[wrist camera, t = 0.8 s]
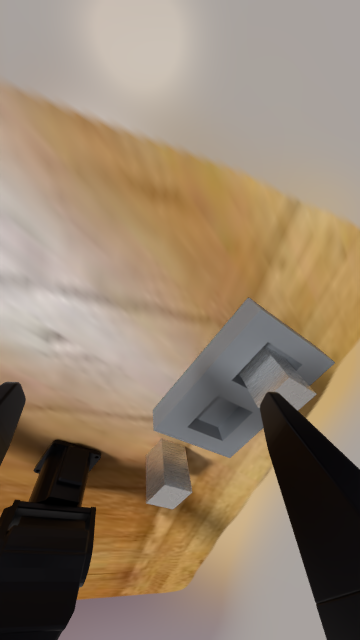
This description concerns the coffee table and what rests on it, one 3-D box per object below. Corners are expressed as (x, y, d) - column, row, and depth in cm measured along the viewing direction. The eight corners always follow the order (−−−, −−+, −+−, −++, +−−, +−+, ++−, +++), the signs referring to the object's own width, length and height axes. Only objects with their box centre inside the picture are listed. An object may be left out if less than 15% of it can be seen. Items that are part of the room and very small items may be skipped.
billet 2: (259, 379, 28) (285, 421, 23) (235, 366, 27) (257, 407, 21) (282, 356, 27) (316, 394, 22) (259, 340, 25) (289, 377, 20)
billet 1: (169, 462, 35) (173, 509, 29) (145, 455, 33) (146, 503, 28) (184, 446, 33) (192, 492, 28) (161, 437, 32) (164, 484, 27)
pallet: (223, 437, 34) (229, 458, 31) (152, 409, 29) (153, 430, 27) (317, 347, 28) (335, 362, 26) (248, 297, 24) (261, 308, 21)
